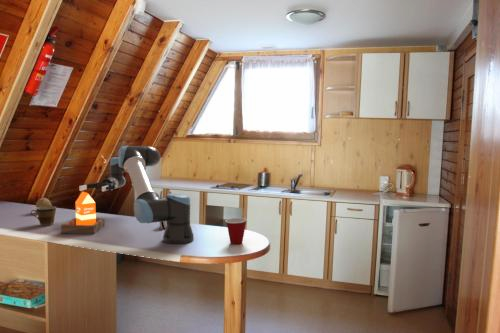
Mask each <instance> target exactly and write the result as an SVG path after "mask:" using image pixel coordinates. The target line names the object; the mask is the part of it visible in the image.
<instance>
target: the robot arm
mask: <svg viewBox="0 0 500 333" xmlns="http://www.w3.org/2000/svg"><path fill="white" fill-rule="evenodd" d="M160 161H161V153H160V151H159V150H158V149H157V148H155V147H154V146H150V145H124V146H120V147H119V150H118V157H115V156H114V157H111V158H110V161H109V166H110V168H109V171H110V177H107V178H104V179H102V180H101V181H100V182H91V183H82V184H81V185H79V187H78V189H79V191H80V192H82V191H86V190H89V189H101V192H108V191H115V190H116V189H119V188H122V187H123V186H125V185H126V182H127V181H126V178H125V177H124V173H128V175H129V177H130V182H131V184H132V186H133V189H134V192H135V195H136V199H135V201H134V203H133V211H134V216H135V218H136V221H137V222H139V223H140V224H152V223H159V222H162V221H167V226H166V228H164V233H163V236H162V241H163V242H164V243H167V244H173V245H179V244H181V245H182V244H188V243H190V242H193V241H194V239H195V238H194V232H193V229H192V226H191V198H190V197H189V196H188V195H185V194H181V193H167V194H166V197H160V195H159V194H158V193H157V191H154V188H153V185H152V184H151V181H150V178H149V176H148V173H147V171H146V170H147V168H148V167H154V166H156V165H158V164H159V163H160Z"/></svg>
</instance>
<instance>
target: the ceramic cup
mask: <svg viewBox="0 0 500 333" xmlns="http://www.w3.org/2000/svg"><path fill="white" fill-rule="evenodd" d="M35 208H36V209H32V210H31V211H30V215H32V216H33V217H35V218H36V219H38V221H39V225H40V227H51V226H53V225H54V222H55V215H56V213H57V212H56V210H57V206H55V205H52V206H42V207H38V208H37V207H35ZM32 212H35V213H36V214H37V216H36V215H34V214H33V213H32Z"/></svg>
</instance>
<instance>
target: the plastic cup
mask: <svg viewBox="0 0 500 333" xmlns="http://www.w3.org/2000/svg"><path fill="white" fill-rule="evenodd" d="M247 220H248V219H247V218H245V217H244V218H243V217H234V218H228V219H226V220H224V222H225V223H226V227H227V231H228V236H229V237H228V238H229V242H230V244H231V245H237V246H238V245H242V244H243V241H244V237H245V230H246V226H247V225H246V224H247Z"/></svg>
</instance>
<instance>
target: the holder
mask: <svg viewBox="0 0 500 333" xmlns="http://www.w3.org/2000/svg"><path fill="white" fill-rule="evenodd" d="M105 226H106V225H105V218H103V217H102V218H97V217H96V223H94V224H93V225H76V217H75V218H74V217H73V218H72V219H70V220H68V221H66V222H65V223H63V224H61V225H60V233H61V235H95V234H96V233H97V232H100V231H101V230H102V229H103V228H105Z"/></svg>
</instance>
